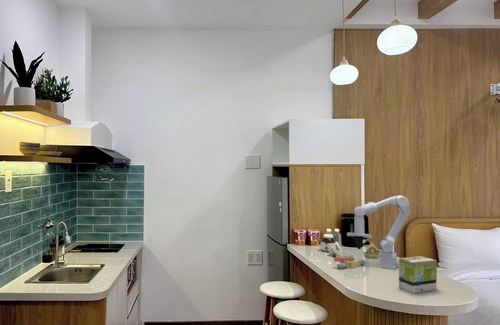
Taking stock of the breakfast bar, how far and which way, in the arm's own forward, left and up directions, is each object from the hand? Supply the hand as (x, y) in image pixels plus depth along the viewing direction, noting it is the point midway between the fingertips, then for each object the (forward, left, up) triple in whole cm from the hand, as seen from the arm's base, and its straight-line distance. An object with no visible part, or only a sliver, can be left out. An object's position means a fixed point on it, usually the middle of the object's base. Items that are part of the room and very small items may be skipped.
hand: (359, 248), depth 227 cm
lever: (+6, +10, -6) cm, 14 cm away
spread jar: (+27, -28, -10) cm, 40 cm away
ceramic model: (-2, -28, -10) cm, 30 cm away
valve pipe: (+3, +7, -10) cm, 12 cm away
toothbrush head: (+15, -8, -10) cm, 20 cm away
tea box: (-36, +31, -10) cm, 49 cm away
